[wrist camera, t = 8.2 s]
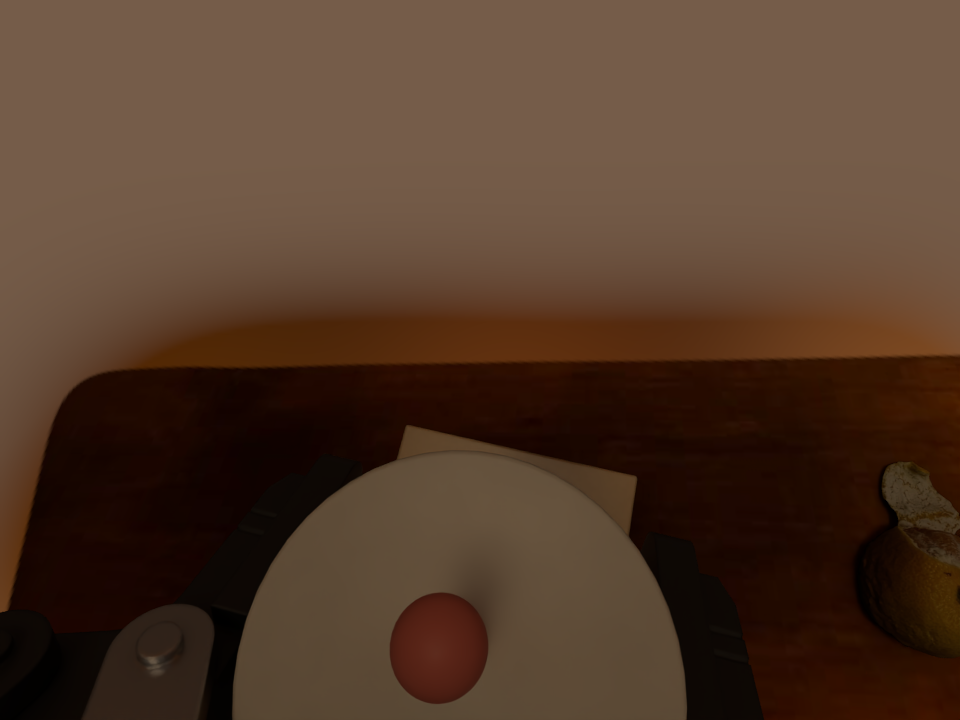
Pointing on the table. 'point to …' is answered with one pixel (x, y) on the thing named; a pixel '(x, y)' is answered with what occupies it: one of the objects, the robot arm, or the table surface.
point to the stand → (594, 482)
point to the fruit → (915, 566)
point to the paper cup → (459, 605)
